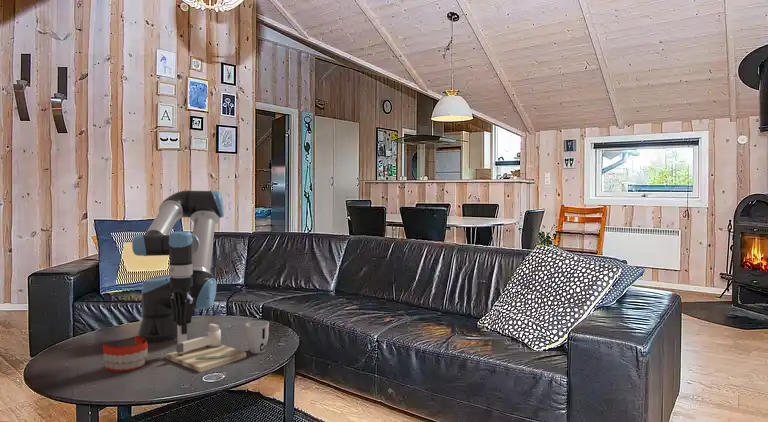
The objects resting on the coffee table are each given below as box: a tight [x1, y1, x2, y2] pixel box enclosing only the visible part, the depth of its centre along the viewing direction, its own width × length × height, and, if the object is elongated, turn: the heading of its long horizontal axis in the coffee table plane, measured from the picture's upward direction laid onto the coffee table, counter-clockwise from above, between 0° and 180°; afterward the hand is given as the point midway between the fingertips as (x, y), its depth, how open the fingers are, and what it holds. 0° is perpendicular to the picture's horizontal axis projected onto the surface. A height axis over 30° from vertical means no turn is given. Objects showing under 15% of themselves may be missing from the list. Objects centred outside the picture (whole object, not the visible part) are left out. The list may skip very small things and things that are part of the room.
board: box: [165, 342, 247, 373], centre depth 181 cm, size 20×18×2 cm
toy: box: [102, 335, 149, 373], centre depth 171 cm, size 12×10×8 cm
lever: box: [176, 323, 222, 353], centre depth 183 cm, size 17×5×7 cm, turn 142°
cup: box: [245, 320, 270, 355], centre depth 187 cm, size 8×8×10 cm
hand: (182, 342), depth 184 cm, fingers closed
